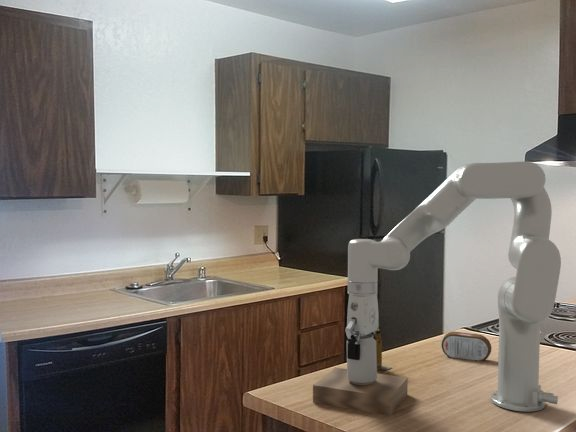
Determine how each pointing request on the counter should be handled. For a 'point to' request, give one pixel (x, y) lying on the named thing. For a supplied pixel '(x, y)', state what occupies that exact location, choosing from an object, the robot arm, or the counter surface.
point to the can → (364, 362)
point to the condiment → (379, 352)
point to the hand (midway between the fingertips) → (361, 354)
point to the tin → (466, 346)
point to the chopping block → (361, 392)
